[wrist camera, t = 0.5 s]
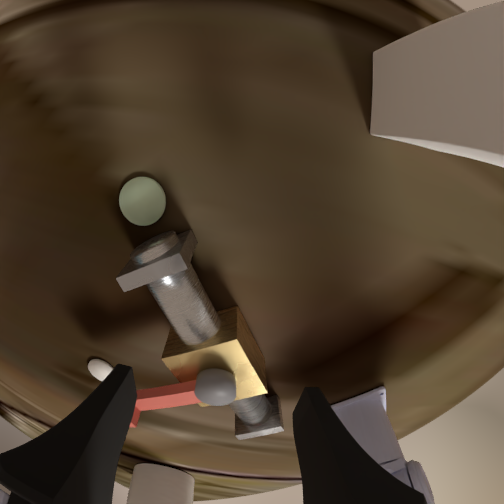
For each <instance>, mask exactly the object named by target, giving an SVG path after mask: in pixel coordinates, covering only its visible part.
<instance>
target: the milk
mask: <svg viewBox="0 0 504 504" xmlns="http://www.w3.org/2000/svg"><path fill="white" fill-rule="evenodd" d="M370 135H373V136H378V137H383V138H388V139H393V140H397V141H402V142H406V143H410V144H414V145H418V146H422V147H425V148H429V149H433V150H436V151H441V152H445V153H450V154H455V155H459V156H463V157H467V158H471V159H475V160H479V161H483V162H487V163H490V164H494V165H497V166H501V167H504V1H501V2H498V3H494V4H490V5H487V6H483V7H480V8H477V9H474V10H471V11H468V12H465V13H462V14H459V15H456V16H453V17H451V18H448V19H445V20H443V21H440V22H438V23H435V24H433V25H430V26H428V27H425V28H423V29H421V30H418V31H416V32H414V33H412V34H409V35H407V36H405V37H403V38H401V39H399V40H396V41H394V42H392V43H390V44H388V45H386V46H384V47H382V48H380V49H378V50H376V51H374V52H373V87H372V110H371V125H370Z"/></svg>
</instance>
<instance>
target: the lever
mask: <svg viewBox="0 0 504 504" xmlns="http://www.w3.org/2000/svg"><path fill="white" fill-rule="evenodd" d="M136 392H137V400H136V405H135V409H134V414H133V417H132V420H131V423H130V426H129V427H137V423H138V419H139V416H140V412H141V411H142V410H152V409H160V408H168V407H175V406H182V405H189V404H195V403H200V402H203V403H206V404H209V405H214V406H222V405H227V404H229V403H231V402H233V401H234V400H235V398H236V378H235V377H234V376H233V375H232V374H231V373H230V372H228V371H226V370H223V369H217V368H212V369H206V370H203V371H201V372H200V373H199V374H198V375H197V378H196V380H193V381H189V382H183V383H178V384H173V385H167V386H162V387H156V388H150V389H143V390H136Z"/></svg>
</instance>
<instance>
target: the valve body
mask: <svg viewBox="0 0 504 504" xmlns="http://www.w3.org/2000/svg"><path fill="white" fill-rule="evenodd" d="M197 243H198V242H197V240H196V238H195V236H194V234H193V232H192V230H191V229H190V230H188V231H185V232H183V233H180V234H178V235H176V232H175V231H167V232H164V233H161V234H159V235H157V236H155V237H153V238H151V239H149V240H147V241H145V242H144V243H142V244H141V245H139V246H138V247H137V248H136V249H134V250H133V251H132V253H131V254H130V257H131V259H130V260H129V262H128V263H127V264H126V266H125V267H124V268H123V269H122V271H121V272H120V273H119V275H118V276H117V277H116V280H117V281H118V283H119V285H120V286H121V288H122V289H123V291H124V292H126V291H129V290H132V289H134V288H137V287H140V286H142V285H145V284H146V285H147V287H148V289H149V290H150V292H151V294H152V295H153V297H154V299H155V300H156V302H157V303H158V305H159V307H160V308H161V310H162V312H163V313H164V315H165V316H166V318H167V319H168V321H169V322H170V324H171V329H170V332H169V335H168V338H167V342H166V345H165V348H164V351H163V355H162V358H161V359H162V360H163V362H164V363H165V364H166V366H167V367H168V368H169V369H170V371H171V372H172V373H173V374H174V376H175V377H176V378H177V379H178V381H179V382H180V383H183V382H189V381H193V380H196V378H197V375H198V374H199V373H200V372H201V371H203V370H206V369H212V368H217V369H223V370H226V371H228V372H230V373H231V374H232V375H233V376H234V377H235V378H236V398H235V400H234V401H233V402H231V403H229V404H228V405H229V406H230V407H231V408H232V410H233V411H234V412H235V436H236V437H237V438H238V439H239V440H241V439H247V438H253V437H258V436H263V435H268V434H272V433H277V432H281V431H284V427H283V419H282V411H281V404H280V399H279V398H278V396H277V395H275V396H272V397H268V398H266V396H265V393H268V389H267V379H266V369H265V359H264V357H263V355H262V353H261V351H260V349H259V347H258V345H257V343H256V341H255V339H254V337H253V335H252V333H251V331H250V329H249V327H248V325H247V323H246V321H245V319H244V317H243V315H242V313H241V311H240V309H239V307H238V305H237V306H233V307H230V308H227V309H224V310H221V311H218V312H216V310H215V308H214V306H213V305H212V303H211V301H210V299H209V297H208V295H207V293H206V292H205V290H204V288H203V286H202V284H201V282H200V280H199V278H198V276H197V274H196V272H195V271H194V269H193V267H192V265H191V263H190V261H191V259H192V256H193V253H194V251H195V248H196V245H197ZM198 404H199V405H200V406H201V407H204V406H210V405H209V404H206V403H203V402H200V403H198Z"/></svg>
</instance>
